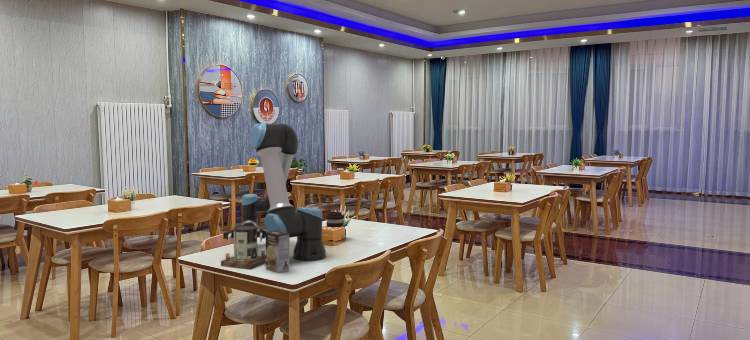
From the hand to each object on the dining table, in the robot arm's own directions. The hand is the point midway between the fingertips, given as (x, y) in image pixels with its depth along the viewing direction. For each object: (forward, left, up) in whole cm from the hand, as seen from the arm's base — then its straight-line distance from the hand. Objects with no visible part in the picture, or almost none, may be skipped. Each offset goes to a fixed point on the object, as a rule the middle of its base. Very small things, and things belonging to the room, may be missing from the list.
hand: (244, 239), depth 232 cm
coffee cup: (-15, -61, -11) cm, 64 cm away
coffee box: (-18, +2, -11) cm, 21 cm away
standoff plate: (0, -1, -11) cm, 11 cm away
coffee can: (0, -1, -9) cm, 9 cm away
